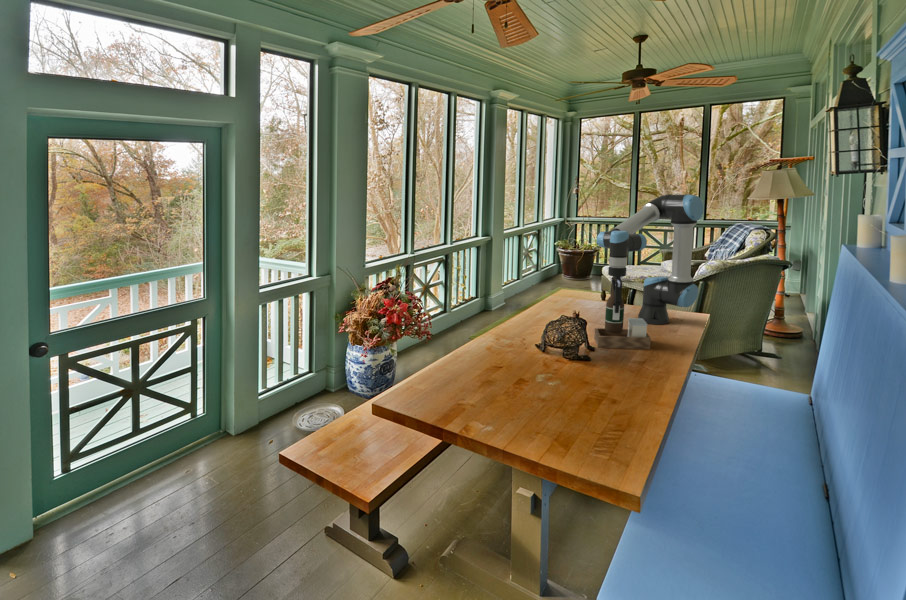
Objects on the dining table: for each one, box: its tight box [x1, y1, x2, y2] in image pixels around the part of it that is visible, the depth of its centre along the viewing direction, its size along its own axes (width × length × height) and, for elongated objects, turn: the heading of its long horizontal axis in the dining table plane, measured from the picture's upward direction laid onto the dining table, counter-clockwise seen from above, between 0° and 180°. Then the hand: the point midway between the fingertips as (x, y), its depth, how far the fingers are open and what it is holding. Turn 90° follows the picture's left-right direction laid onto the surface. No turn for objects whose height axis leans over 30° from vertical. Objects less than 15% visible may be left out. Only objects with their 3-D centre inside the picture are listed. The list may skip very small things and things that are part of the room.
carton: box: [627, 317, 649, 337], centre depth 243 cm, size 6×10×10 cm, turn 172°
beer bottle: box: [604, 278, 625, 333], centre depth 242 cm, size 8×8×24 cm
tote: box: [593, 327, 652, 350], centre depth 244 cm, size 22×14×5 cm, turn 82°
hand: (614, 317), depth 243 cm, fingers closed on beer bottle, 8 cm apart
